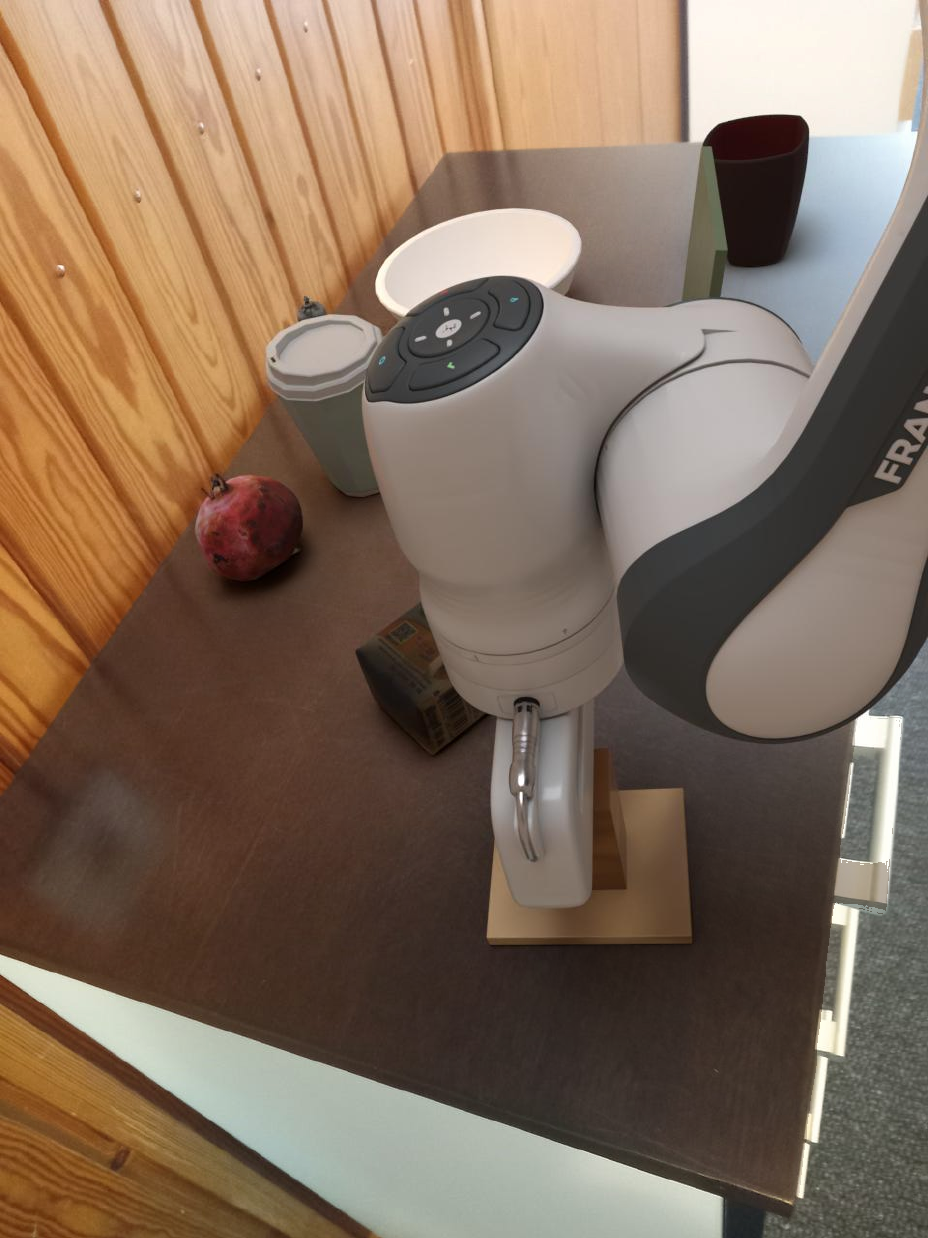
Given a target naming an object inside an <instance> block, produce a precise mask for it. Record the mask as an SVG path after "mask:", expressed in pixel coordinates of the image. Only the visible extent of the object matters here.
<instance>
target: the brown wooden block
mask: <svg viewBox="0 0 928 1238" xmlns="http://www.w3.org/2000/svg"><path fill="white" fill-rule="evenodd" d="M611 751H612V750H611V748H609V747H604V748H603V747H601V748H594V765H593V853H592V890H617V889H627V850H626V828H625V823H624V818H623V813H622V807H621V802H620V797H619V792H618V791H619V787H618V783H617V782H618V781H617V778H616V777H617V776H616V772H615V767H614V762H613V757H612V753H611Z"/></svg>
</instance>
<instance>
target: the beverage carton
mask: <svg viewBox="0 0 928 1238" xmlns="http://www.w3.org/2000/svg"><path fill="white" fill-rule="evenodd" d="M354 654H355V656H356V659H357V662H358V664H359V668H360V669H361V672H362V674H363V676H364V679H365V680H366V684H367V686H368V688H369V691H370V693H371V695H372V697H373V699H374V701H375V702H376V703H377V704H378V705H379V707H381V708H382V709H383V710H384V711H385V712H386V713H387V714H388V715H389V716H390V717H391V718H392V719H393V720H394V721H395V722H396V723H397V724H399V726H400V727H401V728H402V729H403V730H404V731H405V732H406V733H407V734H409V736H410V737H411V738H412V739H414V741H416V742H417V743H418V744H419V745H420V747H422V748H423V749H424V750H425V751H426V752H427V753H428V754H429V755H432V756H435V754H437V753H438V752H439V751H440V750H441V749H443V748H444V747H445V746H447V745H448V744H449V743H450V742H452V741H453V740H454V739H456V738H457V737H458V736H459V735H461V734H462V733H464V731H466V730H467V729H468V728H469V727H471V726H472V725H474V723H476V722H477V721H478V720H480V719H481V718H482V717H483V716H485V715H486V714H487V713H486V712H483V711H481V710H479V709H477V708H476V707H474V706H472V705H471V704H470V703H468V702H467V701H466V700H465V699H463V698H462V697H461V696H460V695H459V693H458V692H457V691H456V690H455V688H454V686H453V685H452V683H451V681H450V679H449V677H448V674H447V671H446V669H445V666H444V663H443V661H442V658H441V655H440V653H439V650H438V647H437V645H436V642H435V639H434V637H433V634H432V631H431V629H430V626H429V623H428V621H427V618H426V616H425V613H424V610H423V607H422V603H421V600H420V601H418V602H417V603H416V604H415V605H414V606H413V607H411V608H410V609H408V610H407V611H406V612H404V613H403V614H402V615H400V616H398V618H396V619H395V620H394V621H392V622H391V623H388V625H387V626H385V627H384V628H382V629H381V630H380V631H379V632H377V633H376V634H375V635H373V636H371V637H370V638H369V639H368V640H367V641H366V642H364V643H363V644H362V645H360V646H359V647H357V648H356V649H355V651H354Z"/></svg>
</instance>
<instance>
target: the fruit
mask: <svg viewBox="0 0 928 1238" xmlns="http://www.w3.org/2000/svg"><path fill="white" fill-rule="evenodd" d="M214 475H215V477H214V476H212V475H211V476H210V477H209V479H210V493H209V492H208V491H206V489H205V488H204V487H202V486H201V487H200V490H201V491H202V493H204V494H205V496H207V497H206V498H205V499H204V500H203V502H202V503H201V505H200V508H199V511H198V514H197V517H196V521H195V526H194V535H195V538H196V541H197V544H198V546H199V548H200V550H201V553H202V554H203V557H204V558H205V561H206V563H207V564H208V565H209V567H210V569H211V570H212V571H213V572H214V573H216V574H217V575H219V576H221V577H223V578H225V579H229V580H235V581H241V582H248V581H250V582H251V581H255V580H258V579H259V578H261V577H263V576H265V575H266V574H267V573H270V571H272V570H274V569H275V568H277V567H278V566H280V565H281V564H283V563H285V562H287V560H289V558H291V557H292V555H294V554H296V553H298V552H301V550H302V548H299V547H298V544H299V541H300V537H301V534H302V531H303V527H304V516H303V511H302V507H301V504H300V501H299V500H298V498H297V496H296V494H295V493H294V492H293V491H292V490H291V489H290V488H289V487H288V486H287V485H285V484H283V483H282V482H280V481H278V480H276V479H274V478H271V477H267V476H261V475H254V474H244V475H239V476H236V477H232V478H229V479H228V480H227V481H226V480H225V479H224V478H223V476H221V474H219V472H217V471H214Z"/></svg>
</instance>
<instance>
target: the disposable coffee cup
mask: <svg viewBox="0 0 928 1238" xmlns="http://www.w3.org/2000/svg"><path fill="white" fill-rule="evenodd" d="M384 337H385V335H383V333H382V330H381V328H380V327H379V326H376V325H374V324H373V323H371V322H369V321H367V320H365V319H363V318H361V317H359V316H357V315H353V314H352V315H351V314H349V315H348V314H336V313H335V314H334V313H333V314H331V313H330V314H327V315H324V316H320V317H315V318H310V319H306V320H302V321H300V322H298V321H297V322H296V323H294V324H292V325H290V326H288V327H287V328H284V329H282V330H279V332H277V334H276V335H275V336H274V337H273V338H272V340H271V341H270V342H269V343H268V344H267V345H266V346H265V357H266V359H265V361H264V362H265V373H266V374H265V375H266V378H267V384H268V386H269V388H270V389H271V391H272V392H274V393H275V394H276V395H277V397H278V398H279V400H280V401H281V403H282V406H284V408H285V410H286V411H287V413H288V414H289V416H290V418H291V419H292V421H293V423H294V424H295V426H296V427H297V429H298V431H299V433H300V434H301V435H302V437H303V439H304V440H305V442H306V444H307V445H308V447H309V448H310V450H311V452H312V454H313V455H314V456H315V458H316V460H317V461H318V463H319V464H320V467H321V468H322V470H323V471H324V473H325V474H326V476H327V478H328V479H329V481H330V483H331V484H332V485H333V486H334V487H336V488H337V489H338V490H339V491H340V492H342V493H343V494H344V495H346V496H348V497H359V498H365V497H368V496H371V495H376V494H379V493H380V490H379V487H378V484H377V480H376V477H375V474H374V470H373V466H372V463H371V459H370V455H369V450H368V446H367V441H366V436H365V430H364V423H363V415H362V392H363V386H364V381H365V376H366V372H367V369H368V366H369V363H370V361H371V359H372V357H373V354H374V353H375V351H376V349H377V347H378V345H379V344H380V342H381V341H382V340H383V338H384Z"/></svg>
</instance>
